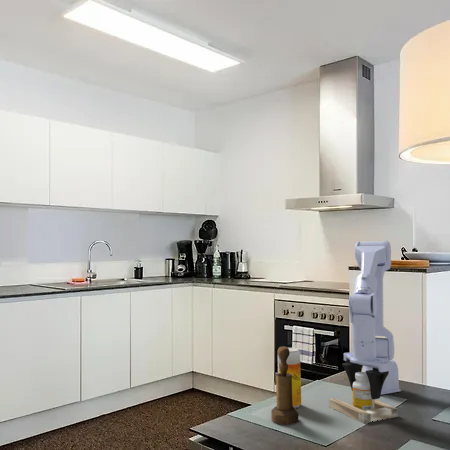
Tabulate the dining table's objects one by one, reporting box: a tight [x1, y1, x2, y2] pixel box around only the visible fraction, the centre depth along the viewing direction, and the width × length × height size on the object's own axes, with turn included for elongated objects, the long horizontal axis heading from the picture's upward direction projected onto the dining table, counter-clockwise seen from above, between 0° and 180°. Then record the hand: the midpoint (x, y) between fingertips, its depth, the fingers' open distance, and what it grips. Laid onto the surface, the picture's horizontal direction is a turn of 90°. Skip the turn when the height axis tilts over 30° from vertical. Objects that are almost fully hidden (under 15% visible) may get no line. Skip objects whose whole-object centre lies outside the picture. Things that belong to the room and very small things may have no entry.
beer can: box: [277, 347, 302, 409], centre depth 132 cm, size 6×6×15 cm
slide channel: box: [328, 397, 398, 424], centre depth 126 cm, size 10×14×2 cm
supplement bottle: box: [352, 371, 375, 411], centre depth 126 cm, size 5×5×10 cm
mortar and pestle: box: [271, 345, 299, 426], centre depth 121 cm, size 7×6×18 cm
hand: (365, 394), depth 125 cm, fingers open, 7 cm apart
